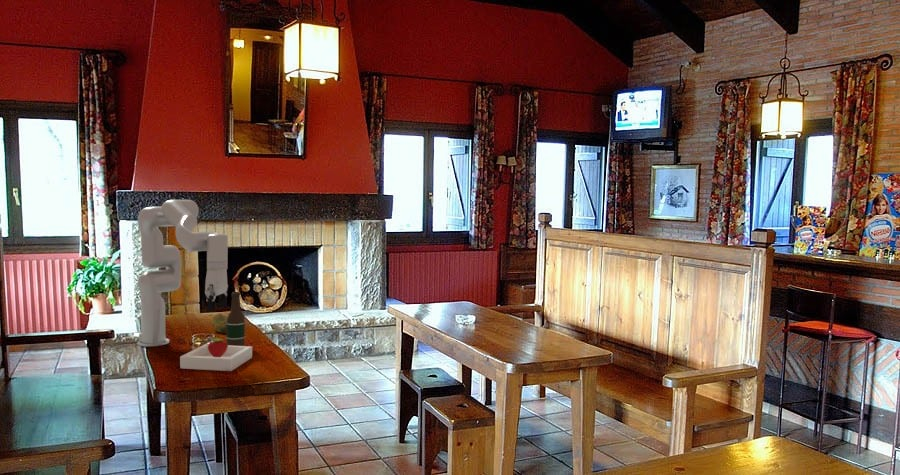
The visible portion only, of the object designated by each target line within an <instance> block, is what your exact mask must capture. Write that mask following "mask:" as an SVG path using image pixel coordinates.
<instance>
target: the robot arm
mask: <svg viewBox="0 0 900 475" xmlns="http://www.w3.org/2000/svg"><path fill="white" fill-rule="evenodd" d="M199 211H200V210H199V206H198V204H197V203H196V202H195V201H194V200H192V199H169V200H166V201H165V202H163V204H162V205H161V206H148V207H143V208H142V209H141V210H140V211H139V213H138V216H137V224H138V229H139V232H140V237H141V239H140V240H141V241H140V244H141V262H142V263H141V264H142V265H143V266H144V267H145V268H147V269H148V268H149V269H157V268H165V269H162V270H149V271H145V272H143V273H142V274H140V275H139V277H138V280H137V285H138V290H139V295H140V317H141V318H140V322H141V324H140V328H141V329H140V330H141V332H140V333H139V332H137V333H135V332H134V333H133V337H132V338H133V339H138V341H137V346H139V347H144V348H145V347H146V348H147V347H151V348H152V347H159V346H165V345H168V344H169V343H170V339H169V338H167V337H166V302H165V299H164V298H163V297H162V296H161V294H160V293H165V292H166V293H167V292H174V291H177V290H178V289H179V288H180V287H181V285H182V256H181V252H180V249H179V248H178V247H177V246H176V245H172V244H165V245H164V235H163V232H162V231H161V230H160V228H159V227H175V232H174V233H175V238H176V242H177V243H178V244H179V245H180V246H181V247H182V248H183V249H184V250H186V251H188V252H193V253H194V252H206V276H205V284H204V285H205V286H204V294H205V298H206V300H205V301H206V312H212V313H213V312H214V313H215V312H216V309H217V308H216V307H218V308H219V307H220V308H227V306H228V305H227V304H228V303H227V302H228V298H227V297H228V288H229V284H228V272H227V270H228V253H229V251H228V249H229V248H228V246H229V243H228V242H229V239H228V235H227V234H225V233H218V232H216V231H194V229H195V228H196V227H197V225H198V220H197V217H198V216H199ZM192 231H193V232H192ZM216 297H218V300H217V302H218V306H216V305H217V304H216V301H215V300H216Z"/></svg>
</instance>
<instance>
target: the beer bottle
mask: <svg viewBox="0 0 900 475" xmlns="http://www.w3.org/2000/svg"><path fill="white" fill-rule="evenodd" d="M230 296H231V303H230V304H231V305H230V306H231V308H230V312H229V313H228V314H227V316H226V317H227V323H226V333H225V334H226V335H225V336H226V337H225V338H226V339H225V340H226V341H225V342H227V344H228V345H231V346H246V345H245V344H246V319H245V318H246V317H245V315H244V313H243V311H242V308H241V300H240V298H241V297H240V296H241V292H240V291H233V292H232V293H231V295H230Z"/></svg>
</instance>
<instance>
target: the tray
mask: <svg viewBox="0 0 900 475" xmlns="http://www.w3.org/2000/svg"><path fill="white" fill-rule="evenodd" d="M208 344H209V343H207V344H206V343H205V344H202V345H201V346H199V347H196V348H195V349H192V350H191V351H189V352H187V353H185V354H182V355H180V357H179V366H180V369H187V370H205V371H221V372H222V371H223V372H224V371H225V372H232V371H234V370H235V369H237V368H238V367H240V366H241V365H243V364H245V363H246V362H248V361H249V360H250V359H252V358H253V346H249V345H248V346H246V345H245V346H231V345H228V347H227V350H226V352H225V353H224V354H223V355H222V356H221V357H213V356H212V355H211V353H210V352H209V350H208Z"/></svg>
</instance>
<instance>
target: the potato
mask: <svg viewBox="0 0 900 475" xmlns="http://www.w3.org/2000/svg"><path fill="white" fill-rule="evenodd" d="M227 317H228V316H227V315H226V314H225V313H224V314H223V313H217V314H215V315H214V316H213V318H212V321H211V322H212V326H213V328H214V329H215V331H216V332H217V333H220V334H226V323H227Z"/></svg>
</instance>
